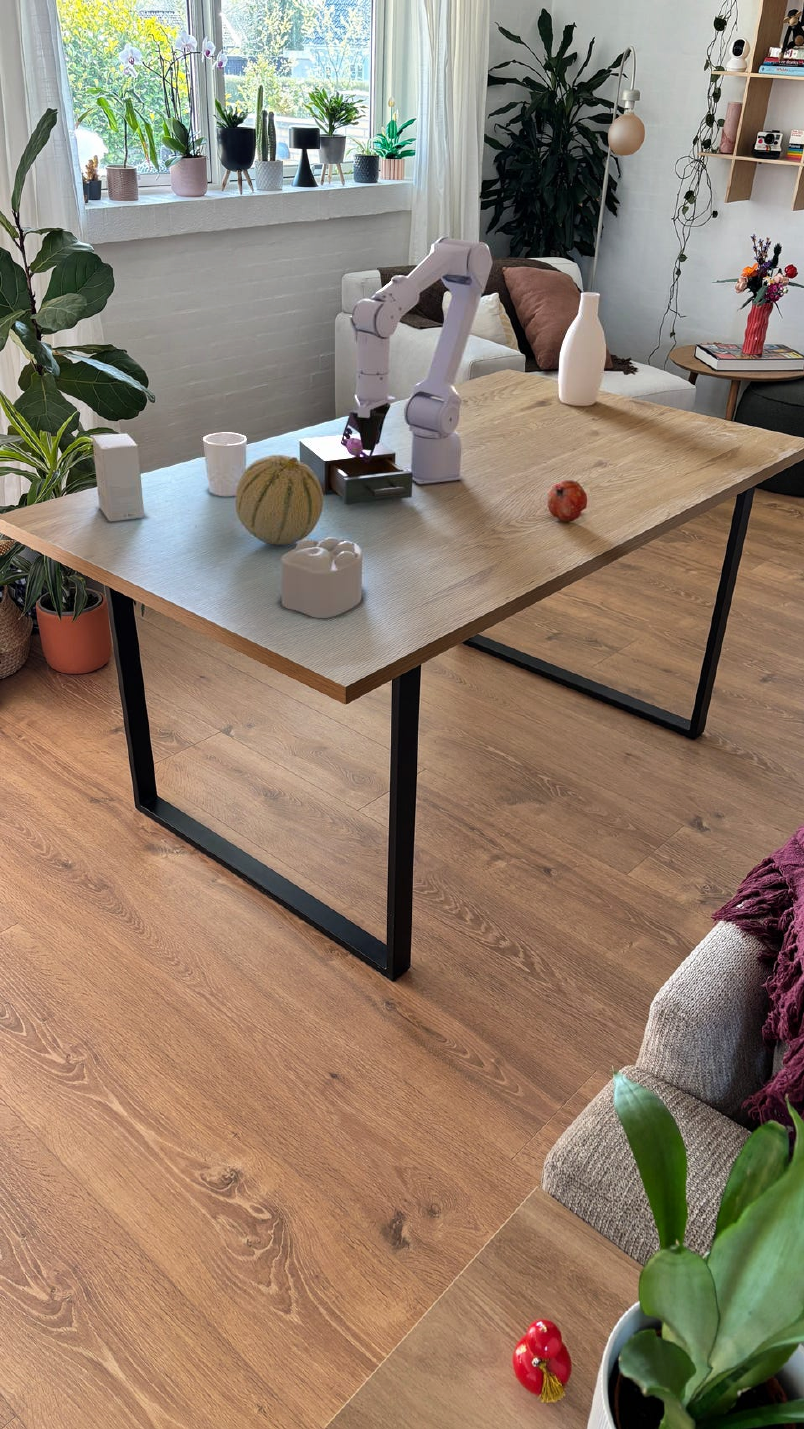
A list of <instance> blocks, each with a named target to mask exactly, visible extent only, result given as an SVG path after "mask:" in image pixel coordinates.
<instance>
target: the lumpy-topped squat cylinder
mask: <svg viewBox="0 0 804 1429" xmlns="http://www.w3.org/2000/svg"><path fill="white" fill-rule="evenodd" d="M280 575H281V576H280V580H281V581H280V582H281V584H280V585H281V586H280V587H281V605H282V607H283V608H284V607H285V608H286V609H288V610H293V611H296V612H300V613H302V614H305V615H307V616H309V617H311V618H312V617H313V618H315V619H328V618H329V619H330V618H333V617H337V616H339V615H341V614H343V613H345V612H347V611H349V610H351V609H353V608H354V607H356V606H357V605H358V604H360V602H361V599H362V596H363V595H362V592H363V591H362V590H363V589H362V586H363V550H362V549H361V547H360V546H359V545H358V544H357V543H355V542H352V541H348V540H344V539H338V538H336V537H334V536H329V537H328V536H327V537H325V538H324V539H323V540H312V539H309V538H303V539H301V540H299V541H298V542H297V544H296V546H295V548H293V549H291V550H289V551H288V552H286V553H284V554H283V555H282V556H281V558H280Z"/></svg>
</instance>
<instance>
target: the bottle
mask: <svg viewBox="0 0 804 1429" xmlns="http://www.w3.org/2000/svg"><path fill="white" fill-rule="evenodd" d="M600 297H601V294H600V293H598V292H591V291H583V292H581V293H580V302H579V307H578V314H577V316H576V317H575V319H574V320H573V321H572V323H571V325H570V326H569V328H568V329H567V332H566V334H565V337H564V339H563V341H562V345H561V349H560V352H559V364H558V365H559V366H558V396H559V400H560V403H563V404H566V405H569V406H576V407H588V406H592V405H594V404H595V403H596V402H597V399H598V396H599V392H600V389H601V385H602V382H603V378H604V377H603V376H604V371H605V365H606V360H607V344H606V337H605V332H604V329H603V326H602V324H601V321H600V318H599V305H600V304H599V301H600Z"/></svg>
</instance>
